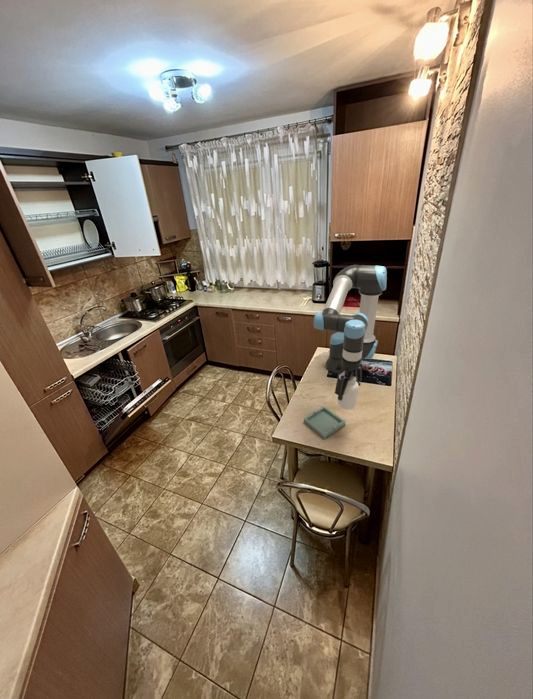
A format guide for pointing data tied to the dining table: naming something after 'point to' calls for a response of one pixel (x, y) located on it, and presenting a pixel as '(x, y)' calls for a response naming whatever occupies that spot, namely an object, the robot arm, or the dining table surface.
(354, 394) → the pill bottle
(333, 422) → the tray
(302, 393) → the dining table surface
